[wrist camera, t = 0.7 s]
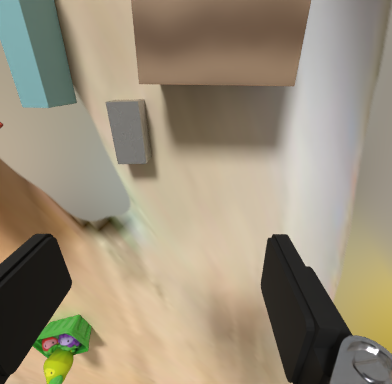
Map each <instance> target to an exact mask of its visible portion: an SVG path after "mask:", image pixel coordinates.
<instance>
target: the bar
mask: <svg viewBox="0 0 392 384" xmlns="http://www.w3.org/2000/svg"><path fill="white" fill-rule="evenodd" d="M106 106H107V111H108V116H109V121H110V126H111V131H112V136H113V141H114V146H115V151H116V156H117V161H118V164H147V162H148V161H149V159H150V158H151V149H150V141H149V133H148V125H147V117H146V109H145V101H144V99H138V100H113V101H109V102H106Z"/></svg>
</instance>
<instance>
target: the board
mask: <svg viewBox="0 0 392 384" xmlns="http://www.w3.org/2000/svg"><path fill="white" fill-rule="evenodd" d="M131 3H132V14H133V24H134V35H135V45H136V56H137V66H138V77H139V84H172V85H241V86H294V85H295V80H296V75H297V70H298V65H299V60H300V55H301V49H302V44H303V39H304V34H305V29H306V24H307V19H308V14H309V9H310V4H311V0H131Z"/></svg>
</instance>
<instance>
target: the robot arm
mask: <svg viewBox="0 0 392 384" xmlns="http://www.w3.org/2000/svg"><path fill="white" fill-rule="evenodd" d="M71 285H72V280H71V277H70V274H69V272H68V269H67V266H66V264H65V261H64V258H63V256H62V253H61V250H60V247H59V245H58V242H57V240H56V238H55V237H53V235H51V234H35V235H33V236H32V237H31V238H30V239H28V240H27V241H26V242H25V243H24V244H23V245H22V246H20V247H19V248H18V249H17V250H16V251H15V252H14V253H12V254H11V255H10V256H9V257H8V258H7V259H5V260H4V261H3V262H2V263H1V264H0V384H4V383H5V382H6V380H7V379H8V377H9V376H10V375H11V374H13V373H14V372H15V371H16V370H17V368H18V367H19V366H20V364H21V363H22V361H23V359H24V358H25V356H26V355H27V353H28V352H29V350H30V349H31V347H32V346H33V344H34V343H35V341H36V340H37V338H38V337H39V335H40V334H41V332H42V331H43V329H44V328H45V326H46V325H47V323H48V322H49V320H50V319H51V317H52V316H53V314H54V313H55V311H56V310H57V308H58V307H59V305H60V304H61V302H62V301H63V299H64V298H65V296H66V294H67V293H68V291H69V290H70V288H71ZM261 290H262V294H263V298H264V301H265V305H266V308H267V312H268V315H269V319H270V322H271V326H272V329H273V333H274V336H275V340H276V343H277V347H278V350H279V354H280V357H281V361H282V364H283V368H284V371H285V375H286V378H287V380H288V382H290V383H293V384H392V354H391V353H390V352H389V351H387V350H386V349H385V348H384V347H383V346H381V345H380V344H378V343H377V342H375V341H373V340H370V339H368V338H366V337H362V336H353V335H352V334H351V332H350V330H349V328H348V327H347V325H346V323H345V322H344V320H343V319H342V317H341V315H340V313H339V312H338V310H337V309H336V307H335V305H334V304H333V302H332V300H331V299H330V297H329V295H328V294H327V292H326V290H325V289H324V287H323V285H322V284H321V282H320V280H319V279H318V277H317V275H316V274H315V272H314V270H313V269H312V268H311V267H306V266H305V264H304V263H303V261H302V259H301V257H300V256H299V254H298V252H297V250H296V249H295V247H294V245H293V243H292V242H291V240H290V238H289V236H288V235H286V234H273V235H272V238H268V240H267V246H266V253H265V259H264V266H263V272H262V279H261Z"/></svg>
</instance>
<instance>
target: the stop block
mask: <svg viewBox="0 0 392 384" xmlns="http://www.w3.org/2000/svg"><path fill="white" fill-rule="evenodd" d="M0 40H1V43H2V46H3V49H4V52H5V55H6V58H7V61H8V64H9V67H10V70H11V73H12V76H13V79H14V82H15V85H16V88H17V91H18V94H19V97H20V100H21V103H22V106H23V107H34V108H35V107H36V108H41V107H42V108H50V107H55V106H62V105H68V104H74V103H77V102H76V97H75V92H74V88H73V83H72V79H71V74H70V70H69V65H68V61H67V56H66V52H65V47H64V43H63V38H62V34H61V29H60V25H59V20H58V16H57V11H56V7H55V2H54V0H0Z"/></svg>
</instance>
